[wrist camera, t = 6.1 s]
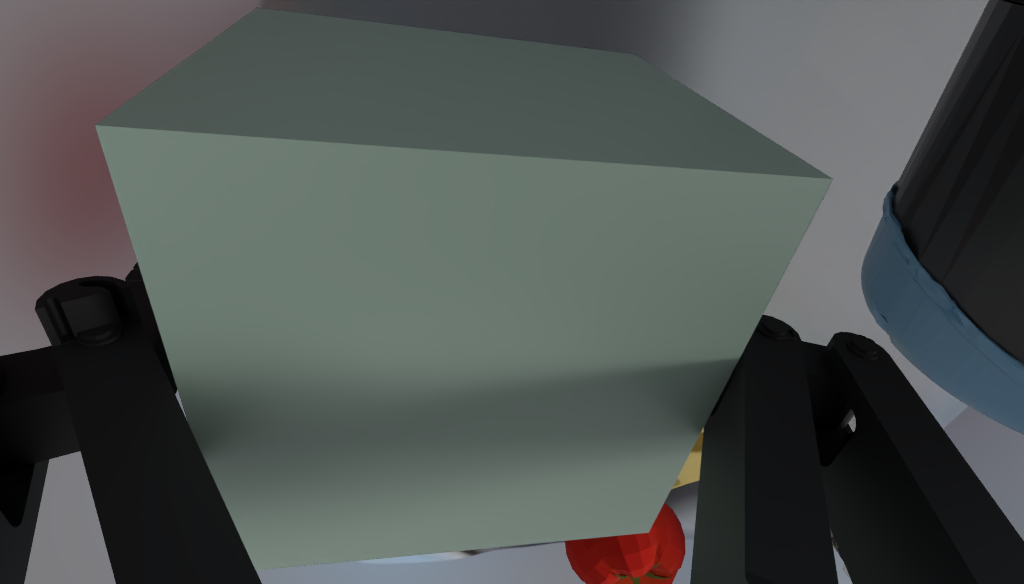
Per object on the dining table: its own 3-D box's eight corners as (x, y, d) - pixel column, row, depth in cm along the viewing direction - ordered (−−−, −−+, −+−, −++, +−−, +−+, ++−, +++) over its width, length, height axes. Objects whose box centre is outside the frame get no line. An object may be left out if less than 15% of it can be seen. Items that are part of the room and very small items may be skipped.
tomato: (659, 518, 60) (694, 601, 53) (557, 539, 59) (578, 626, 52) (669, 462, 54) (711, 548, 47) (555, 484, 53) (579, 576, 45)
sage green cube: (256, 7, 13) (95, 124, 6) (634, 54, 15) (833, 178, 8) (295, 325, 19) (234, 572, 12) (565, 325, 21) (648, 532, 14)
